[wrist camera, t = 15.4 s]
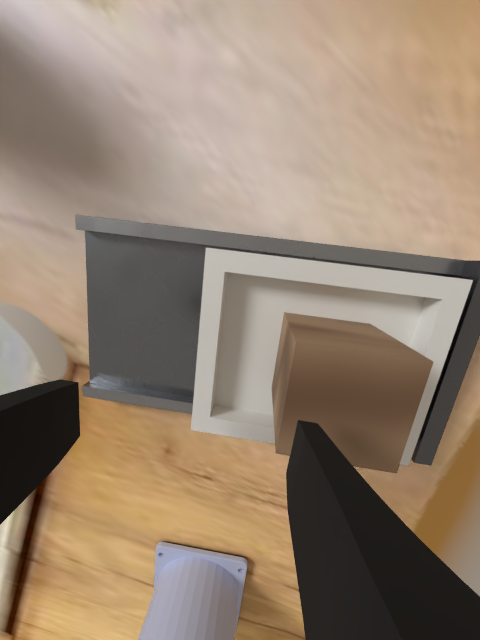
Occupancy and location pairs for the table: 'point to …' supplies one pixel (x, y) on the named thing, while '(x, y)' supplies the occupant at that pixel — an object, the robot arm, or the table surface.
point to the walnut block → (347, 388)
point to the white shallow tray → (314, 300)
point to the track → (185, 307)
